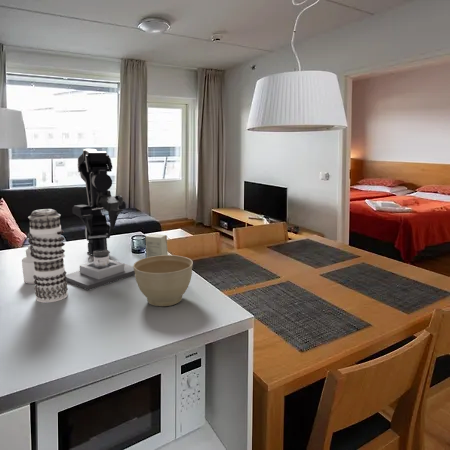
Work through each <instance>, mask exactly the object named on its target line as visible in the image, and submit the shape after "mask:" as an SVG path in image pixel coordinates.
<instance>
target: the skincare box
mask: <svg viewBox="0 0 450 450" xmlns="http://www.w3.org/2000/svg"><path fill="white" fill-rule="evenodd" d="M145 249H146V250H145V252H146V258H147V257H152V256H160V255H169V252H168V235H167V234H157V233H151V234H148V235H146V236H145Z"/></svg>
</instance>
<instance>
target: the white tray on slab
mask: <svg viewBox="0 0 450 450" xmlns="http://www.w3.org/2000/svg"><path fill="white" fill-rule="evenodd" d="M109 263H110V267H106V268H103V269H100V270H99V269H96V268H94V261H91V262H87V263H85V264H80V265H79V270H78V271H73V272H71V273H66V275H65V276H66V277H67V279H66V282H67V283H69V284H72V285H74V286H77V287H78V288H81V289H84V290H87V291H91V290H93V289H96V288H99V287H103V286H105V285H108V284H111V283H114V282H117V281H121V280H124V279H125V278H129V277H133V276H135V271H134V268H133V265H130V264H126V263H123V262H120V261H116V260H111V259H109Z"/></svg>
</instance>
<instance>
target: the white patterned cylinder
mask: <svg viewBox="0 0 450 450" xmlns="http://www.w3.org/2000/svg"><path fill="white" fill-rule="evenodd" d="M61 215H62V214H60V213H58V212H57V210H55V209H52V208H43V209H36V210H33V211H32V212H31V214H30V215H29V216H28V217H27V218H28V219H29V232H28V233H27V238H28V240H27V241H28V243H29V244H28V245H31V246H30V250H31V253H30V254H31V256H32V260H33V261H34V267H35V268H34V276H33V277H34V279H35V281H34V284H33V285H34V295H35V301H37V302H39V303H44V304H45V303H46V304H47V303H48V304H49V303H55V302H59V301H61V300H65V298H68V296H69V292H68V289H69V288H68V282H66V279H67V277H66V276H65V275H67V271H66V268H65V264H64V258H65V256H66V255H65V251H66V250H65V249H64V248H63V247H64V246H65V244H66V243H64V241H65V237H63V236H61V235H63V234H64V233H65V231H64V230H63V229H62V225H61V219H60V218H61Z"/></svg>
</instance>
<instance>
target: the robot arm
mask: <svg viewBox="0 0 450 450" xmlns="http://www.w3.org/2000/svg"><path fill="white" fill-rule="evenodd" d="M112 170H113V163H112V160H111V157H110V155H109V154H108V152H107V151H98V149H95V148H85V149H82V154H80V156H79V157H78V158H77V172H78V173H79V174H80V175H79V176H80V178H81V179H82V181H84V183H85V188H86V195H87V203H88V205H87V204H77V205H73V207H72V208H71V209H72V210H71V211H72V212H71V213H72V214H73V215H76V217H79V219H80V220H81V221H82V223H83V224H84V226H85V227H84V228H85V231H84V235H85V239H86V241H88V243H87V252H86V254H87V255H89V256H93V252H94V251H96V250H101V249H105V250H108V239H110V238H111V229H112V230H114V229H115V226H116V223H117V219H118V218H119V215H120V214H121V213H122V212H124V210H126V209H127V203H126V202H125V200H124V199H123V198H124V197H123V196H122V195H121V194H119V195H118V194H117V195H115V196H112V194H111V190H110V189H111V187H112V186H113V180H112V177H111V176H110V175H109V174H108V172H109V173H110V172H112ZM103 210H105V211H107V214H108V219H109V222H107V217H106V215H105V214H104V213H102V211H103ZM108 251H109V254H110V252H111V251H110V250H108Z"/></svg>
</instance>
